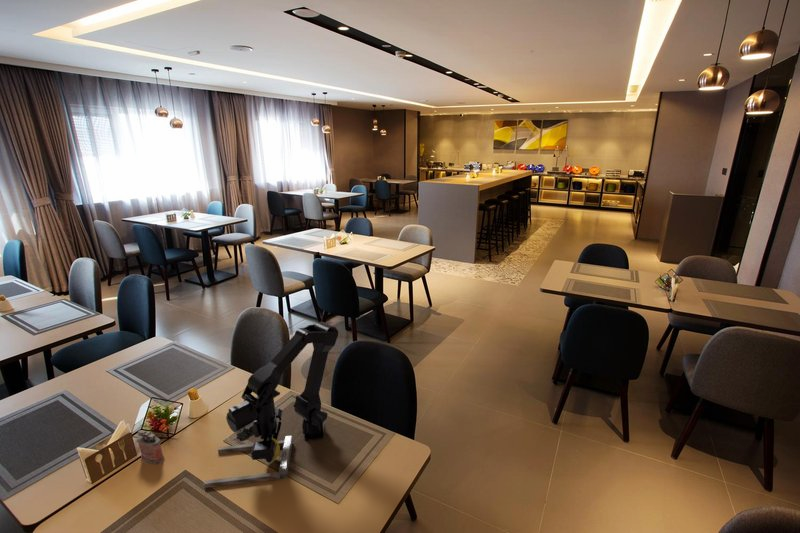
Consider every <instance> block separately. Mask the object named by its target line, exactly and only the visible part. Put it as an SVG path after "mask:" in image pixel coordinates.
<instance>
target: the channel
mask: <svg viewBox="0 0 800 533" xmlns="http://www.w3.org/2000/svg"><path fill="white" fill-rule="evenodd" d="M284 437H285V438H284V439H283V440H277V441H278V443H279V446H280V448H281V447H282V452H281V457H280V462H279V467H278V468H279V469H278V471H276V472H267V473H260V474H259V473H257V474H250V475H248V474H247V475H242V476H241V475H240V476H233V477H225V478H224V477H223V478H216V479H215V478H214V479H207V480H204V482H203V486H204V489H207V488H208V489H209V488H215V487H223V486H224V487H225V486H226V487H227V486H232V485H240V484H251V483H258V482H259V483H260V482H265V481H275V480H276V481H277V480H284V479H287V478H288V473H289V467H290V461H291V456H292V455H291V454H292V447H293V435H286V436H284ZM255 443H256V442H254V443H253V442H252V443H246V444H245V443H244V444H235V445H226V446H218V449H217V453H218V454H219V455H220V454H227V453H228V454H229V453H237V452H246V451H252V448H253V445H254V444H255Z"/></svg>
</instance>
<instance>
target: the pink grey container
mask: <svg viewBox="0 0 800 533" xmlns="http://www.w3.org/2000/svg"><path fill="white" fill-rule="evenodd" d="M137 435H138V436H137V438H136V441H137V443H138V447H139V449H140V450H139V451H140V453H141V455H140V458H141V460H142V461H144V462H146V463H149V464H154V465H159V464H162V463H163V462H164V461H165V456H164V454H163V450H162V447H161V446H162V445H161V439H160V438H159V437H158V436H156V434H154V433H152V431H149V430H148V431H145V430H141V429H140V430H138V431H137Z"/></svg>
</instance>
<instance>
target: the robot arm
mask: <svg viewBox="0 0 800 533" xmlns="http://www.w3.org/2000/svg"><path fill="white" fill-rule="evenodd" d="M338 337H339V331H338V329H337V327H335V326H333V325H331V324H329V323H327V322H324V321H319V322H317V323H315V324H314V323H313V324H309V325H306V326H305V327H300V328H298V329H297V330H296V331H295V333H294V335H293V336H292V337H291V338H290V339H289V340H288V341H287V342H286V344H285V345H284V346H283V347H282V348H281V350H279V351H278V353H277V354H276V355H275V356H274V357H273V358H272V359H271V361H269V363H267V364H266V365H264V366H261V367H260V368H258V369H257V370H256V371H255V372H253V374H251V375H250V376H249V378H248V379H247V385H246V386H245V389H244V390H243V393H242V394H241V398H242V399H243V401H242V402H241V403H239V404H236V405H235V406H231V407H229V408H228V412H227V413H226V417H225V419H226V422H227V425H228V427H229V428H230V430H231V431H232V432H233V433H236V440H238V441H239V442H245V441H246V440H249V438H250V437H253V436H254V438H259V437H260V438H259V439H260V441H255V442H254V443H255V444H254V445H253V448H252V450H250V451H251V452H250V456H251V459H252V460H253V461H257V460H265V459H266V460H265V461H266V463H268V464H269V463H270V464H271V463H272V462H273V461H272V459H273V457H274V455H275V451H276V447H277V444H276V443H275V442H274V440H272V438H274V439H276V440H277V441H278V437H279V434H280V431H281V428H282V421H283V418H284V417H283V415H284V413H283V410H282V409H281V408H276V406H275V398H277V397H278V396H280V395H281V392H280V391H278V389H277V387H278V386H279V384H280V382H281V378H282V376H283V374H284V372H285V371H286V370H287V369H288V367H290V365H291V364H292V363H293V361H294V360H296V359H297V357H298V356H299V355H300V353H302V351H303V350H304V349H305V348H306V346H307V345H308V344H312V347H313V351H312V354H311V359H310V364H309V368H308V372H307V373H308V374H307V377H306V382H305V386H304V390H303V391H302V392H301V393H300V394H299V395H298V394H297V395H296V396H295V401H294V403H293V408H294V412H295V414H297V415H298V416H299V417H301V418H302V419H303V420H302V423H301V424H302V425H301V426H302V427H301V428H302V435H304V436H303V439H304V441H308V440H309V441H311V440H317V439H324V437H325V428H326V427H325V426H326V425H325V423H324V422H325V421H326V420H327V418H328V415H329V414H328V412H326V411H325V410H323V409H322V401H321V396H320V391H321V386H322V382H323V378H324V374H325V369H326V365H327V362H328V361H327V360H328V355H329V353H330V351H331V350H332V349H333V348H334V346H335V345H336V342H337V340H338ZM252 393H253V394H255V395H256V396H254V395H253V394H252ZM277 419H278V420H277ZM268 439H269V440H268Z"/></svg>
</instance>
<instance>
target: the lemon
mask: <svg viewBox="0 0 800 533" xmlns="http://www.w3.org/2000/svg"><path fill="white" fill-rule="evenodd" d="M268 440H269V439H268ZM272 440H274V442H275V443H276V444H277V447H276V451H275V455H274V457H273V459H272V461H271V462H273V461H275V460H276V459H277V458H278V457H279V455H280V451H281V449H280V448H281V447H280V446H279V443H278V441H279V440H278V439H277V440H276V439H274V438H272ZM264 460H265V461H266V459H264Z"/></svg>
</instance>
